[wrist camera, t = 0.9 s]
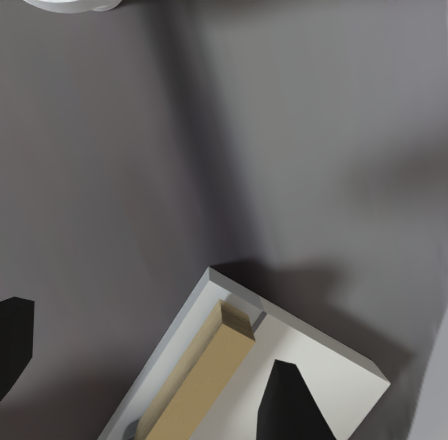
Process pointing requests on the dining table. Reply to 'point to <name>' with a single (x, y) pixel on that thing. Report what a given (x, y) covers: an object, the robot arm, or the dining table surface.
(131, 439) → the bar
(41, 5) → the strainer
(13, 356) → the robot arm
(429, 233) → the dining table surface
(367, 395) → the white panel
